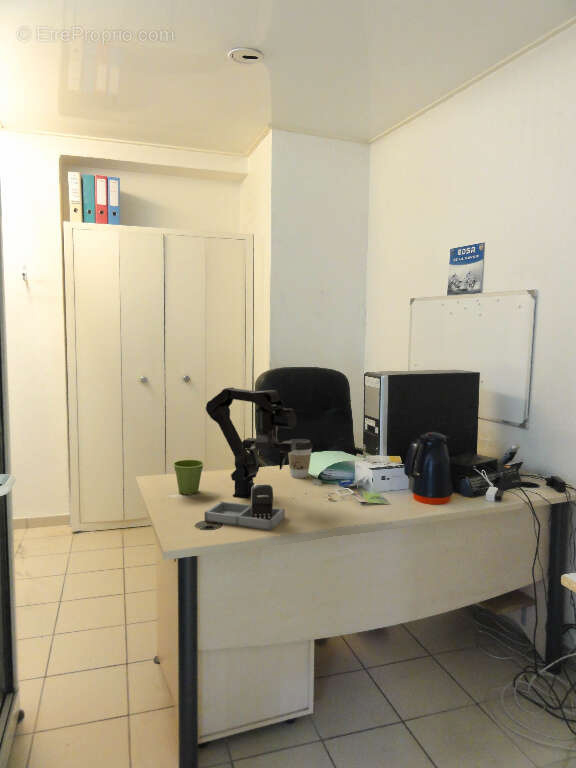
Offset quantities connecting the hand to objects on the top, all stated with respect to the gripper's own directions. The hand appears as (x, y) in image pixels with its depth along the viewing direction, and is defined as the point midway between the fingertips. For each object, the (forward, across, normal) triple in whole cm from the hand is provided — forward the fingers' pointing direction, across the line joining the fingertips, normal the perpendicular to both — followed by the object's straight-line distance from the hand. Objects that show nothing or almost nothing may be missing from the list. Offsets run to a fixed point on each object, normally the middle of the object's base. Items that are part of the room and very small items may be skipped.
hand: (268, 468), depth 194 cm
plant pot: (+12, -32, -1) cm, 34 cm away
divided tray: (+12, 0, -21) cm, 24 cm away
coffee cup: (+12, 0, +36) cm, 38 cm away
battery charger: (+12, +6, -21) cm, 25 cm away
